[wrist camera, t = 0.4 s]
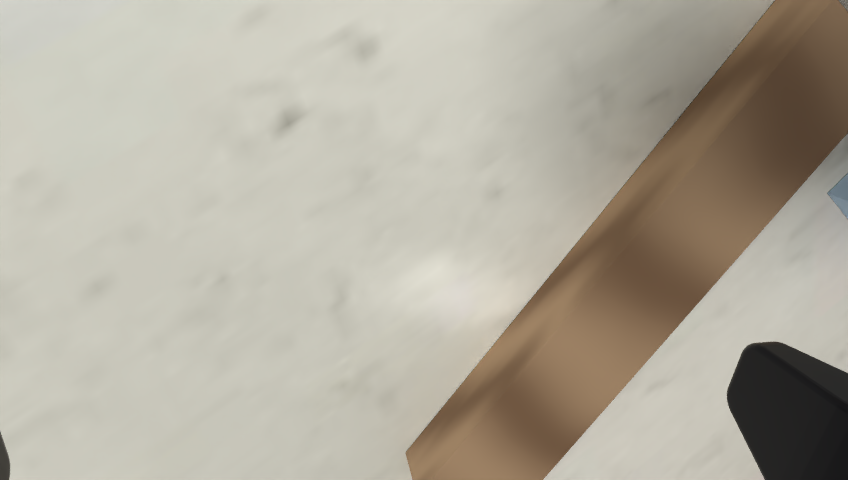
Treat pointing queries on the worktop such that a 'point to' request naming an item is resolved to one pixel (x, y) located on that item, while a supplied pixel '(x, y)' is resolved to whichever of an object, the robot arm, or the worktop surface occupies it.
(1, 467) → the robot arm
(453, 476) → the rail
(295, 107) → the worktop surface
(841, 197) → the post
